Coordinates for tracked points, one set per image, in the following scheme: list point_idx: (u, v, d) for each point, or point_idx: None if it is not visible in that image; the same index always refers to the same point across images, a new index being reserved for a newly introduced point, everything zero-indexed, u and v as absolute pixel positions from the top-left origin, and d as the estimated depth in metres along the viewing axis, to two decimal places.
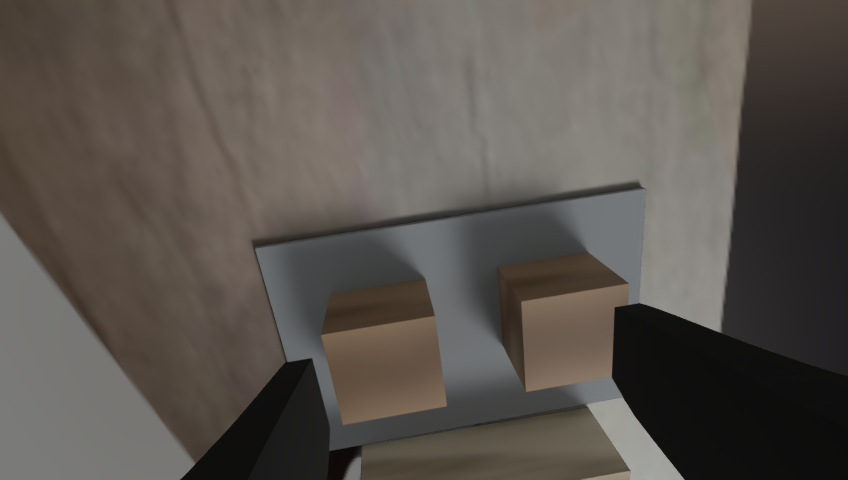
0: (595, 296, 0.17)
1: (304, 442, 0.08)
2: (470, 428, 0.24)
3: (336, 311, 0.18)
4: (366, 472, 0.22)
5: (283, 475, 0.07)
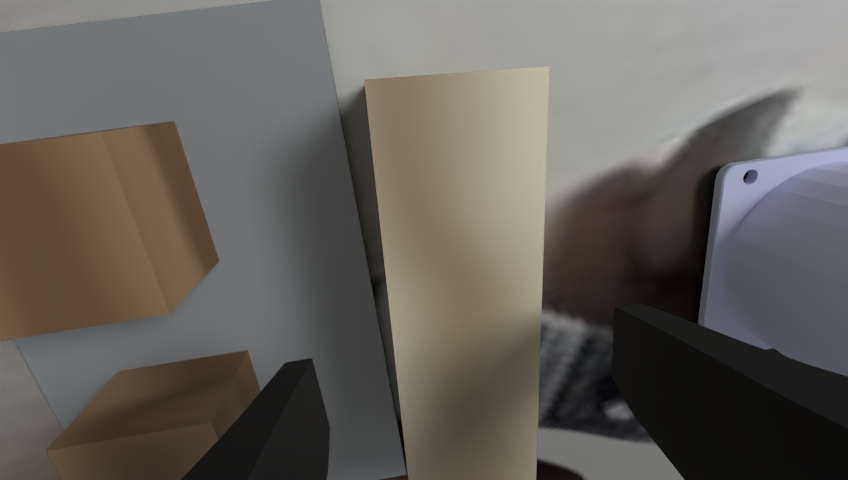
0: None
1: (304, 442, 0.08)
2: None
3: None
4: None
5: (283, 475, 0.07)
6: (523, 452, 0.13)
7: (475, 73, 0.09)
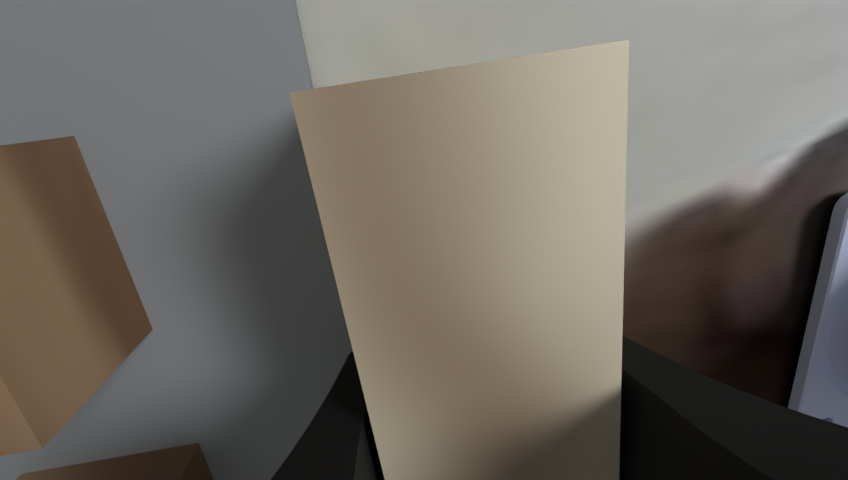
0: None
1: None
2: None
3: None
4: None
5: (372, 459, 0.07)
6: None
7: (494, 63, 0.05)
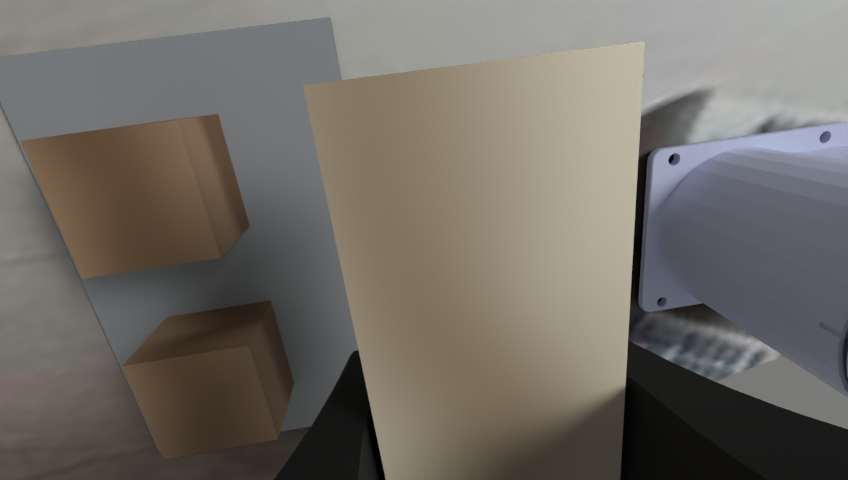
0: (52, 187, 0.13)
1: None
2: None
3: None
4: None
5: (375, 458, 0.07)
6: None
7: (510, 61, 0.05)
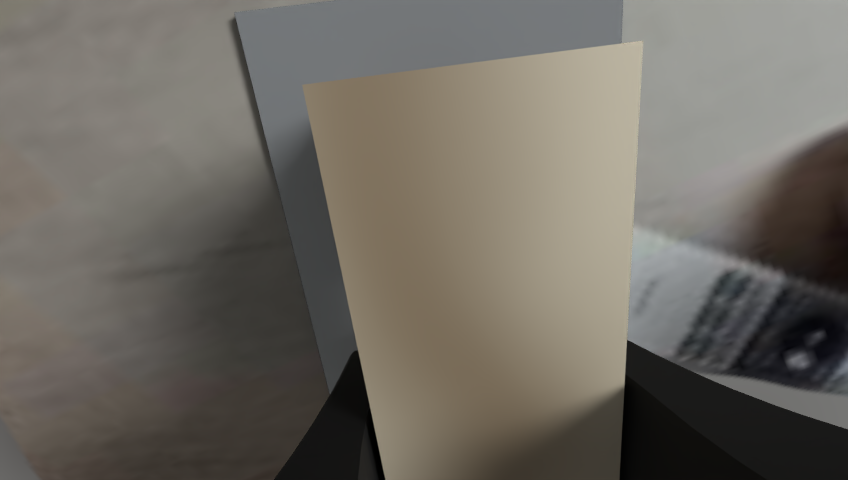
0: None
1: None
2: None
3: None
4: None
5: (375, 458, 0.07)
6: None
7: (508, 61, 0.05)
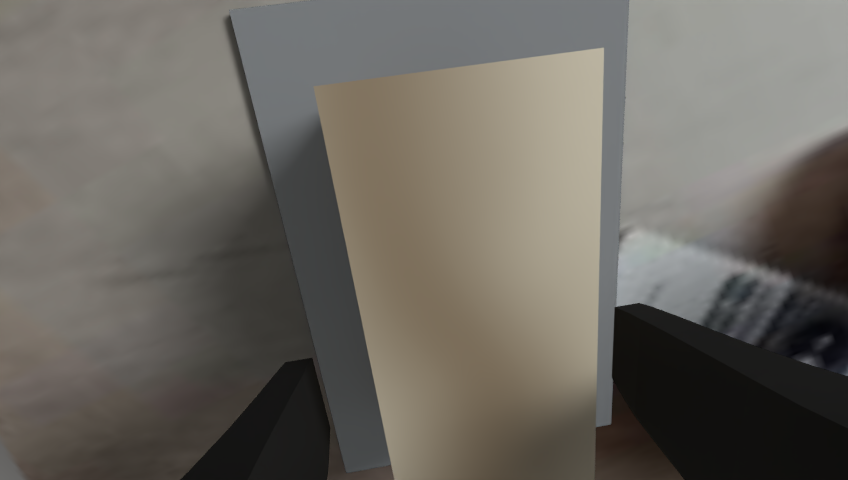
0: None
1: (304, 442, 0.08)
2: None
3: None
4: None
5: (283, 475, 0.07)
6: None
7: (489, 65, 0.06)
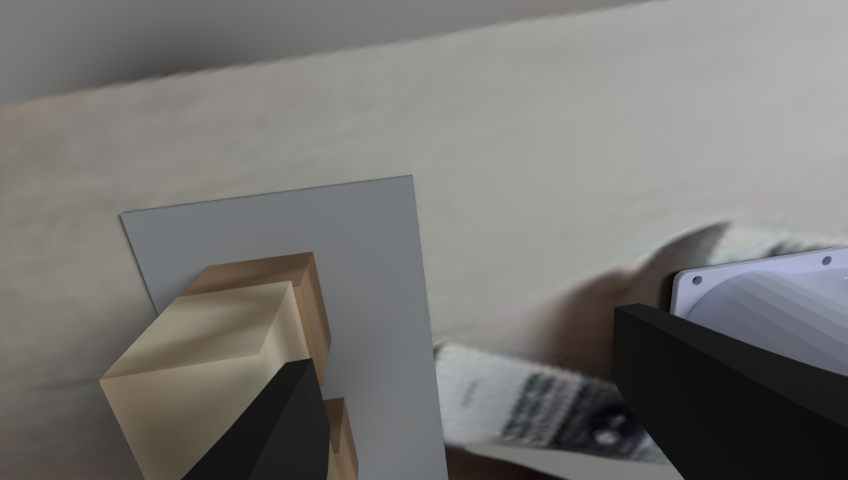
0: None
1: (304, 442, 0.08)
2: None
3: None
4: None
5: (283, 475, 0.07)
6: None
7: (195, 365, 0.11)
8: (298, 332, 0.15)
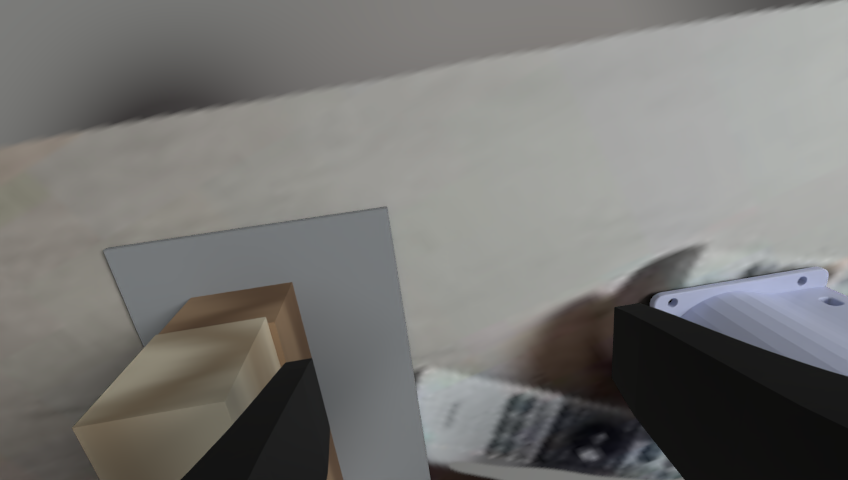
0: None
1: (304, 442, 0.08)
2: None
3: None
4: None
5: (283, 475, 0.07)
6: None
7: (164, 412, 0.11)
8: (273, 367, 0.16)
